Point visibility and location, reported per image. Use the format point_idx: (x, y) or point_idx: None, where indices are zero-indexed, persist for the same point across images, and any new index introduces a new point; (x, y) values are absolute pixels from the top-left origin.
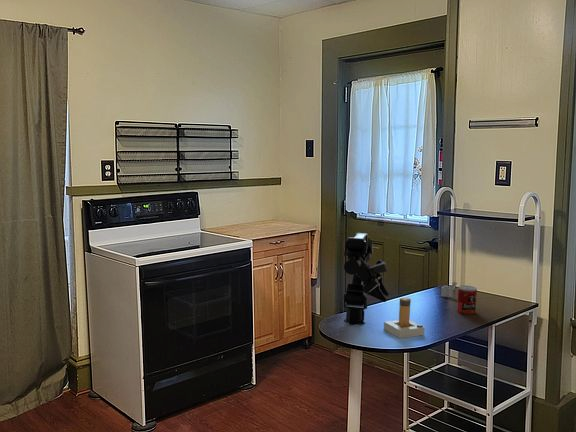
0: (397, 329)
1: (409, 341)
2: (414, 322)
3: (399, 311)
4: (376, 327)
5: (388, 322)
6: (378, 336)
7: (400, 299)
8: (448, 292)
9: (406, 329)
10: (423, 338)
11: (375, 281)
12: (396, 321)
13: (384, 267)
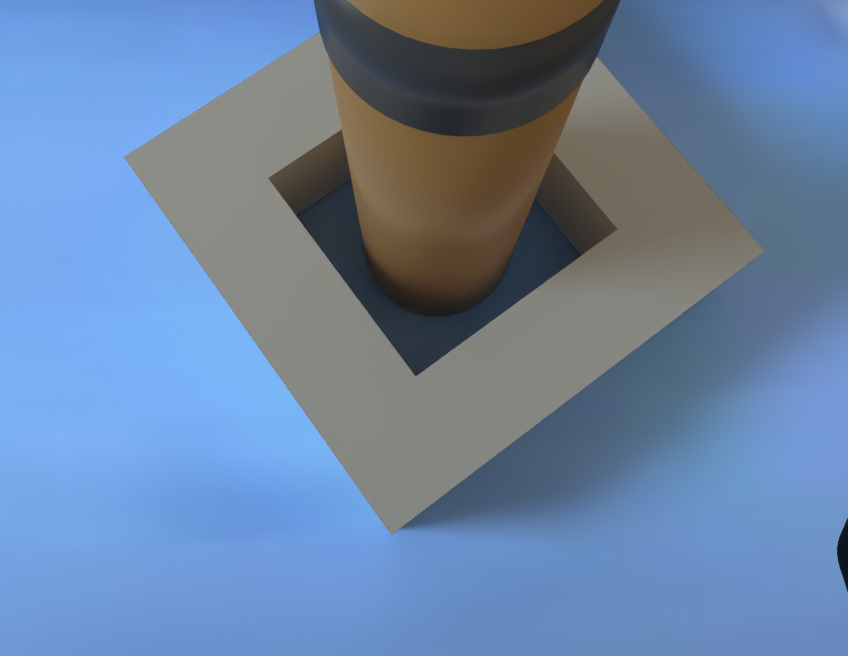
0: (706, 294)
1: (791, 164)
2: (282, 57)
3: (487, 199)
4: (335, 650)
5: (410, 454)
6: (754, 581)
7: (564, 18)
8: None
9: (683, 162)
10: None
11: None
12: (309, 325)
13: None
